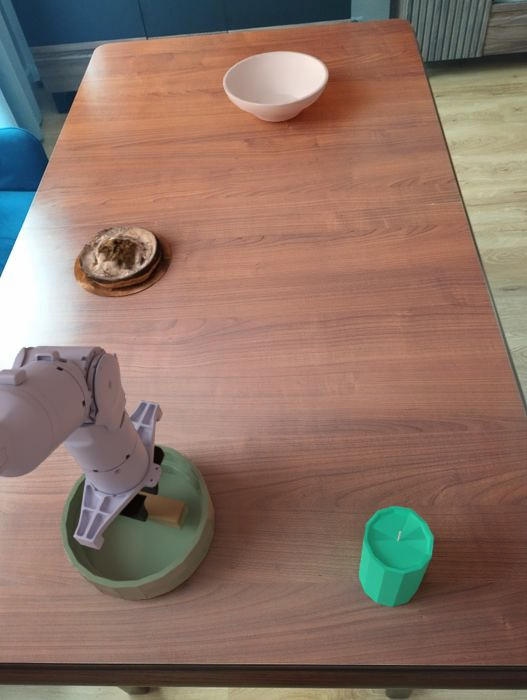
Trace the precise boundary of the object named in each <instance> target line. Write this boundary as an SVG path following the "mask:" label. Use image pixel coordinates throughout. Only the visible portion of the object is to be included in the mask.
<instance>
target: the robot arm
mask: <svg viewBox="0 0 527 700" xmlns="http://www.w3.org/2000/svg"><path fill="white" fill-rule="evenodd" d="M121 376H122V375H121V367H120V362H119V358H118V356H117V353H116V352H114V353H110V352H107V351H106V350H105V349H104V348H102V347H101V346H95V345H93V346H90V345H89V346H88V345H87V346H86V345H38V346H37V345H36V346H28V347H27V346H23V347H22V348H20V350H19V351H18V353H17V354H16V356H15V358H14V360H13V363H12V366H11V368H10V369H9V368H7V369H6V368H5V369H1V370H0V477H1V478H17V477H23V476H26V475H27V474H30V473H31V472H33V471H35V470H36V469H37V468H38V467H39V466H40V465H41V464H42V463H43V462H44V461H45V460H47V458H48V457H50V456H51V455H52V454H53V453H54V452H55V451H56V450H57V449H58V448H59V447H60V446H61V445H63V447H64V448H65V449H66V450H67V452H68V453H69V454H70V456H71V457H72V459H73V460H74V462H75V463H76V464H77V465H78V467H79V468H80V469H81V471H82V473H83V474H84V473H85V475H86V480H85V487H84V493H83V500H82V507H81V514H80V519H79V524H78V527H77V529H76V531H75V534H74V538H75V539H76V540H77V541H78V542H79V543H80V544H82V545H85V546H88V547H91V548H95V549H98V550H99V549H100V548H101V546H102V544H103V542H104V538H103V537H102V533H103V532H104V530H105V529H106V528H107V527H108V525H109V524H110V523H111V522H112V521H113V520H114V519H115V518H116V516H117V515H122V516H125V517H129V518H132V519H135V520H139V521H142V522H145V521H146V520H147V517H148V512H147V510H146V508H145V504H144V502H145V500H146V497H147V496H146V495H142V494H138V492H139V491H141V492H145V493H149V494H153V495H157V494H158V490H159V484H158V480H159V478H160V476H161V474H162V469H161V467H160V466H161V463H162V461H163V459H164V456H165V454H164V452H163V450H162V449H161V448H160V447H158V446H155V445H154V444H156V443H155V441H156V429H157V428H156V426H157V425H156V424H157V423H158V422H160V421H161V419H162V417H163V415H164V413H163V411H162V408H161V405H160V404H159V403H157V402H153V401H147V400H144V399H141V400H140V401H139V403H138V405H137V406H136V408H135V409H134V411H133V412H132V413H131V414H130V415H129V413H128V411H127V409H126V405H127V398H126V392H125V390H124V388H123V385H122V377H121Z"/></svg>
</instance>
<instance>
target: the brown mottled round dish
mask: <svg viewBox="0 0 527 700" xmlns="http://www.w3.org/2000/svg"><path fill="white" fill-rule="evenodd" d="M91 239H93V240H91V241H90V242H88V243H86V244H84V246H83V247H82V249H81V251H80V252H79V254H78V255H77V257H76V259H75V262H74V267H73V272H74V277H75V280H76V282H77V284H78V285H79V286H80V287H81V288H82V289H84V290H85V291H87V292H89V293H91V294H93V295H96V296H97V295H98V296H101V297H108V298H109V297H123V296H128V295H131V294H136V293H139V292H142V291H143V290H145V289H147V288H149V287H151V286H152V285H153V284H155V283H157V281H159V280H160V279H161V278H162V277H163V276H164V274H165V273H166V271H167V269H168V268H169V266H170V263H171V259H172V252H171V251H172V250H171V247H170V245H169V243H168V241H167V240H166V239H165V238H164V237H162V235H160V234H158V233H156V232H154V231H151V230H148V229H147V228H143V227H139V226H135V227H134V226H113V227H109V228H104V229H102V230H100V231H98V232H97V234H96V235H95V236H94V237H93V236H92V237H91Z"/></svg>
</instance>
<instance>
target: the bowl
mask: <svg viewBox="0 0 527 700" xmlns="http://www.w3.org/2000/svg"><path fill="white" fill-rule="evenodd" d="M329 76H330V75H329V69H328V67H327V66H326V64H325V63H324V62H323V61H322V60H321V59H318V57H315V56H314V55H311V54H308V53H303V52H298V51H290V50H278V51H268V52H262V53H259V54H255V55H251V56H249V57H246V58H244V59H242V60H240V61H239V62H236V63H235V64H234V65H232V66H231V67H230V68H229V69H227V71H226V73H224V76H223V80H222V85H223V89H224V91H225V94H226V95H227V97H228V98H229V100H230V101H231V102H232V103H233V104H234V105H235V106H236V107H237V108H239V109H240V110H242V111H244V112H246V113H248V114H252V115H254V116H255V117H256V118H258V119H259V120H262V121H264V122H265V121H266V122H272V123H273V122H274V123H275V122H282V121H289V120H290V119H294V118H295V117H297V116H298V115H299V114H300V113H301V112H302V111H303V110H305V109H306V108H308V107H310V106H312V105H313V104H314V103H315V102H316V101H317V100H318V99H319V98H320V97H321V95H322V93H323V92H324V91H325V89H326V86H327V83H328V81H329Z"/></svg>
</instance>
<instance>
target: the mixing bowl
mask: <svg viewBox="0 0 527 700" xmlns="http://www.w3.org/2000/svg"><path fill="white" fill-rule="evenodd" d="M154 445H155V446H158V447H160V448H161V449H162V450H163V452H164V454H165V456H164V459H163V461H162V463H161V466H160V467H161V469H162V474H161V476H160V478H159V480H158V484H159V490H158V494H157V495H158V496H162V497H166V498H169V499H173V500H177V501H181V502H185V504H186V506H187V508H188V510H189V512H188V514H187V517H186V520H185V522H184V525H183V527H182V530H180V529H176V528H172V527H169V526H165V525H162V524H158V523H154V522H151V521H147V520H146V521H145V522H142V521H139V520H135V519H132V518H129V517H125V516H122V515H117V516H116V518H115V519H114V520H113V521H112V522H111V523H110V524H109V525H108V527H107V528H106V529H105V530H104V532H103V533H102V537H103V538H104V542H103V544H102V546H101V548H100V549H99V550H98V549H95V548H91V547H88V546H85V545H82V544H80V543H79V542H78V541H77V540H76V539H75V538H74V534H75V531H76V529H77V527H78V524H79V519H80V514H81V507H82V500H83V493H84V487H85V480H86V475H85V473H84V472H83V473H82V474H81V475H80V477H79V478H78V479H77V480H76V481H75V482H74V484H73V486H72V488H71V490H70V492H69V493H68V496H67V497H66V499H65V502H64V504H63V508H62V514H61V517H60V518H61V519H60V523H59V527H60V528H59V529H60V535H61V543H62V548H63V550H64V553H65V554H66V556H67V558H68V561H70V563H71V566H72V567H73V568H74V569H75V570H76V571H77V572H78V573H79V574H80V575H81V576H82V577H84V578H85V579H86V580H87V581H88V582H89V583H91V584H92V585H93V586H94V587H95V588H96V589H98V591H100V592H102V593H103V594H105V595H107V596H110V597H114V598H117V599H120V600H124V601H135V600H149V599H152V598H155V597H158V596H161V595H163V594H166V593H168V592H171V591H173V590H175V589H176V588H177V587H179V586H180V585H181V584H182V583H184V582H185V581H186V580H188V578H190V577H192V575H193V574H194V572H195V571H196V570H197V568H198V567H199V566H200V564H201V563H202V562H203V560H204V559H205V558H206V556H208V555H207V554H208V551H209V550H210V546H211V544H212V541H213V539H214V535H215V523H216V522H215V519H216V518H215V516H216V512H215V508H214V504H213V502H212V501H213V500H212V498H211V493H210V491H209V489H208V486H207V484H206V481H205V479H204V476H203V473H201V472H200V470H199V469H198V467H197V466H196V465H195V464H194V462H193V461H192V459H190V458H189V457H188V456H186V455H184V454H183V453H180V451H178V450H176V449H175V448H173V447H169V446H165V445H160V444H156V443H154Z"/></svg>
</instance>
